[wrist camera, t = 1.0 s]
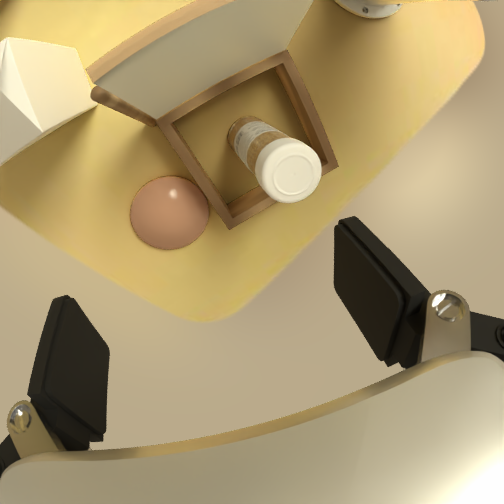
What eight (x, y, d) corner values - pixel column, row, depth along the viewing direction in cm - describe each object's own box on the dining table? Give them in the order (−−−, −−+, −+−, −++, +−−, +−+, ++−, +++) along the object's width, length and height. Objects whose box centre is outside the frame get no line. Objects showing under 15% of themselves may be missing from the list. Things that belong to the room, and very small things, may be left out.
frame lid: (285, 49, 24) (280, 41, 23) (331, -29, 10) (321, -41, 10) (156, 119, 25) (151, 111, 24) (93, 83, 11) (85, 69, 11)
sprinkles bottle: (257, 161, 33) (304, 213, 22) (220, 146, 31) (250, 193, 20) (275, 125, 31) (334, 159, 20) (238, 108, 29) (281, 132, 18)
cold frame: (253, 12, 23) (310, -21, 12) (324, 157, 35) (394, 206, 24) (122, 84, 25) (86, 93, 14) (215, 220, 36) (241, 297, 25)
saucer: (180, 160, 31) (181, 161, 30) (222, 221, 36) (223, 223, 36) (115, 205, 32) (114, 208, 31) (161, 259, 37) (161, 261, 36)
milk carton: (98, 104, 25) (12, 152, 10) (44, 136, 25) (-60, 218, 10) (76, 47, 21) (-29, 32, 6) (22, 83, 21) (-101, 118, 5)
